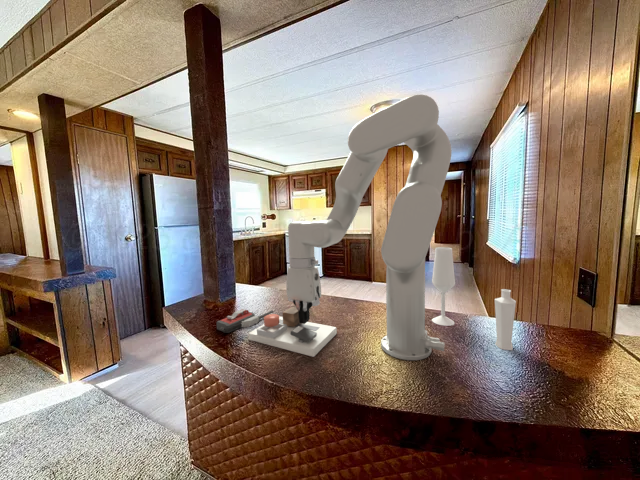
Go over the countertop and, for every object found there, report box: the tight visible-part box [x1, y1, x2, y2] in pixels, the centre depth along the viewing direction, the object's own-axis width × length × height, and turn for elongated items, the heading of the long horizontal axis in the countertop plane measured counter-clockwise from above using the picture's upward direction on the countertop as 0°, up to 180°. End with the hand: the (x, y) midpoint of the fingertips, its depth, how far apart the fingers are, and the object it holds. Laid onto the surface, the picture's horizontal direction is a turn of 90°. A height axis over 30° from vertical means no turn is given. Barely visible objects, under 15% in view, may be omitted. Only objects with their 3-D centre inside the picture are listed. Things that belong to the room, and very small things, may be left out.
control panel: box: [248, 315, 338, 357], centre depth 75 cm, size 22×14×4 cm, turn 62°
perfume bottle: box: [494, 288, 517, 351], centre depth 65 cm, size 5×4×15 cm
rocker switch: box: [290, 326, 317, 342], centre depth 69 cm, size 6×4×1 cm, turn 62°
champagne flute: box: [431, 246, 456, 327], centre depth 81 cm, size 7×7×24 cm
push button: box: [263, 313, 280, 327], centre depth 74 cm, size 4×4×2 cm
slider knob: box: [282, 306, 299, 327], centre depth 79 cm, size 4×5×4 cm
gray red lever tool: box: [216, 308, 274, 334], centre depth 88 cm, size 9×4×20 cm
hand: (304, 321), depth 77 cm, fingers closed
